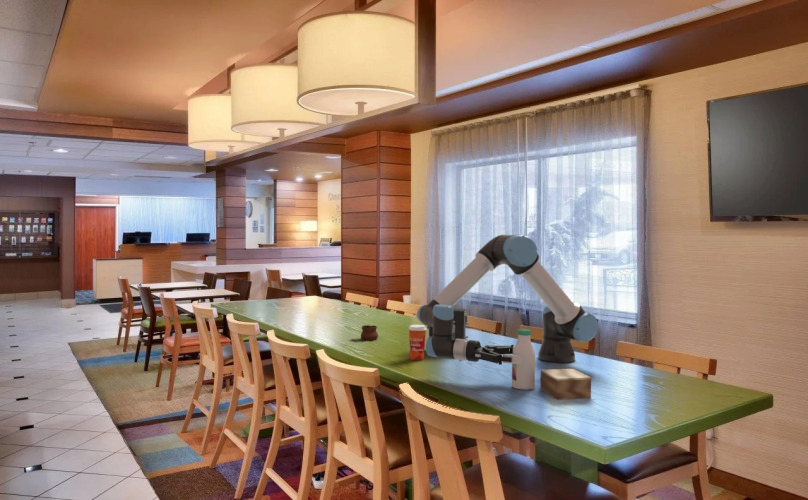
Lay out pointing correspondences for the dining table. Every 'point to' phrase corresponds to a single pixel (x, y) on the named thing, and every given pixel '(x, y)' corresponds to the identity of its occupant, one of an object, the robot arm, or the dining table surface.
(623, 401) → the dining table surface
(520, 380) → the milk bottle
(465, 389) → the dining table surface
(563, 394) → the block
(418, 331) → the paper cup
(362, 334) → the ceramic pot
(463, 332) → the router
